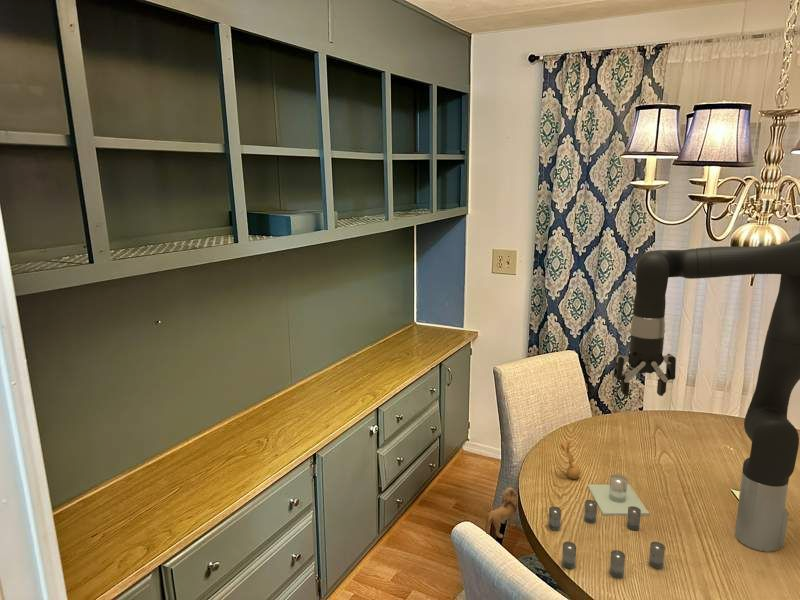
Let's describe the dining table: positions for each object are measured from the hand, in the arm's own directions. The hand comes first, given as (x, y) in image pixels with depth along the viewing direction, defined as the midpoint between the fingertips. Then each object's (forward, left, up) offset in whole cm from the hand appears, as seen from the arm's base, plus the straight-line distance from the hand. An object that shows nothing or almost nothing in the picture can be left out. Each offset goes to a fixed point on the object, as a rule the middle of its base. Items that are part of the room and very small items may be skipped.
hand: (642, 395), depth 138 cm
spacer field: (+12, +12, -34) cm, 38 cm away
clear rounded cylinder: (+2, -7, -34) cm, 34 cm away
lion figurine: (+36, +5, -34) cm, 50 cm away
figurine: (+12, -19, -34) cm, 41 cm away
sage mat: (+2, -7, -34) cm, 35 cm away
